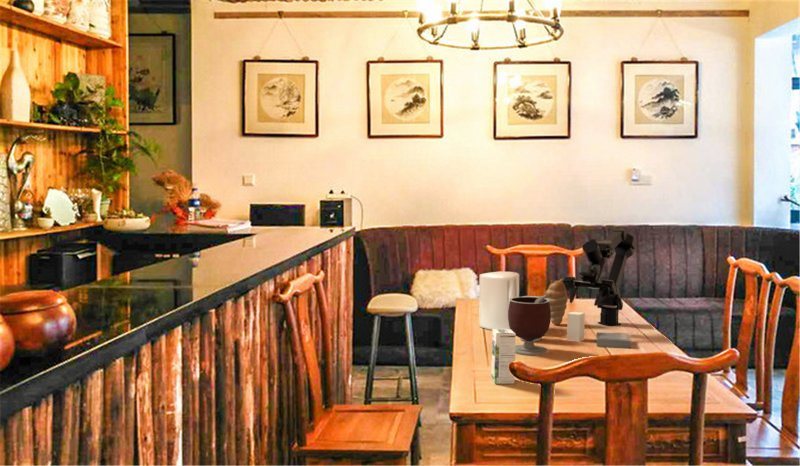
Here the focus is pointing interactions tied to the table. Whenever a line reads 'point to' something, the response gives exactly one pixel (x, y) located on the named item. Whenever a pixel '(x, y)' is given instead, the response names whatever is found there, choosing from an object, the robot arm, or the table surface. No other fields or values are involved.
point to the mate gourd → (529, 322)
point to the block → (575, 326)
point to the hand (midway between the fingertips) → (582, 303)
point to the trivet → (613, 340)
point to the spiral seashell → (557, 300)
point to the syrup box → (502, 355)
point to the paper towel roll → (496, 298)
